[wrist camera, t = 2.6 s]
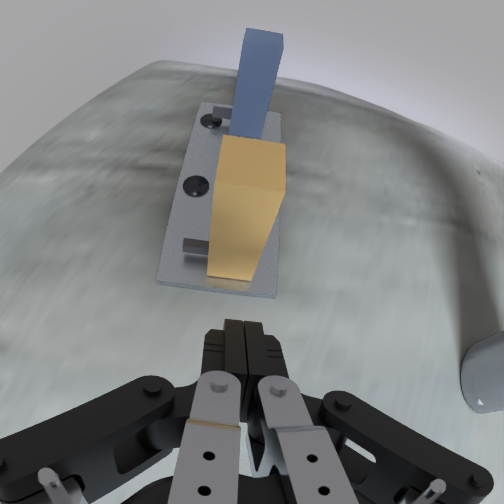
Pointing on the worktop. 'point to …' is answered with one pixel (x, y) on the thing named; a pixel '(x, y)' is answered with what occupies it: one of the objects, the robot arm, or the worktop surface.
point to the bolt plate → (200, 211)
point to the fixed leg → (253, 83)
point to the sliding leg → (242, 206)
